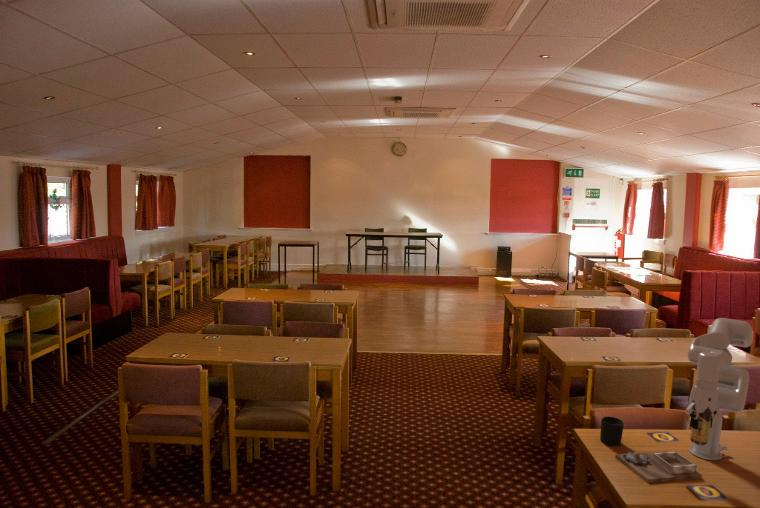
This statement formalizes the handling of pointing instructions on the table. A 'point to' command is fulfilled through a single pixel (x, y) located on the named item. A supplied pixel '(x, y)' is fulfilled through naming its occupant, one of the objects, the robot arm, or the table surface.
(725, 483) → the table surface
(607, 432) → the pen holder
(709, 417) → the sauce bottle
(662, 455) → the gear board
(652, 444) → the table surface
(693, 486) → the table surface
